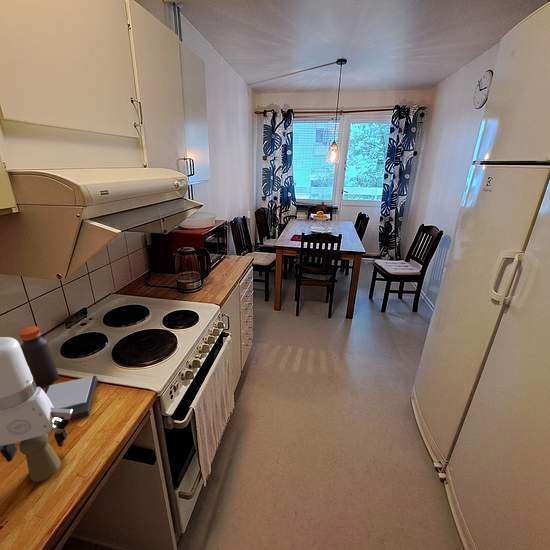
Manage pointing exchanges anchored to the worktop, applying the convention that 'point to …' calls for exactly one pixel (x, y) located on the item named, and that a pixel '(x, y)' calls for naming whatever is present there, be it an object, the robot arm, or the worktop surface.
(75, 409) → the scale
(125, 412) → the worktop surface
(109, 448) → the worktop surface
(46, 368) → the bottle
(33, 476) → the cork
